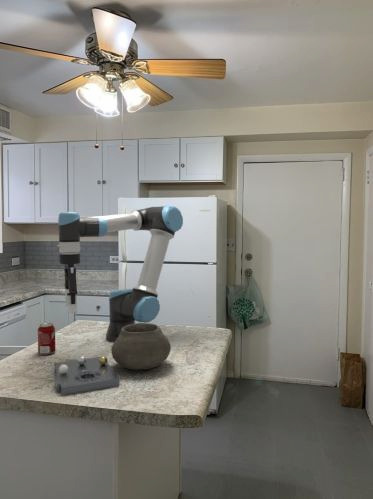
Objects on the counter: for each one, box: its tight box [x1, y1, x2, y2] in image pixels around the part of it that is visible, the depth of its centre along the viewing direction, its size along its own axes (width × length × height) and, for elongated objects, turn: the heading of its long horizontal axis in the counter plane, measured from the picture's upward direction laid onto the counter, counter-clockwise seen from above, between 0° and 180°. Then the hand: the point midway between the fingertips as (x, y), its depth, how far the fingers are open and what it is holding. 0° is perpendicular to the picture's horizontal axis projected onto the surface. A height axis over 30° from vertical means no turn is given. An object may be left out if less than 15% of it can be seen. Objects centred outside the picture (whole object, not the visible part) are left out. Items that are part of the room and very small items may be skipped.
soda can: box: [37, 322, 56, 356], centre depth 159 cm, size 7×7×12 cm
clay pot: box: [110, 322, 172, 371], centre depth 143 cm, size 22×21×15 cm
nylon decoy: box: [59, 364, 68, 374], centre depth 130 cm, size 3×3×3 cm
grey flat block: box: [53, 356, 121, 397], centre depth 133 cm, size 24×20×2 cm
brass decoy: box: [99, 355, 108, 365], centre depth 139 cm, size 3×3×3 cm
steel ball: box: [76, 355, 87, 365], centre depth 139 cm, size 3×3×3 cm
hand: (71, 309), depth 146 cm, fingers open, 13 cm apart
